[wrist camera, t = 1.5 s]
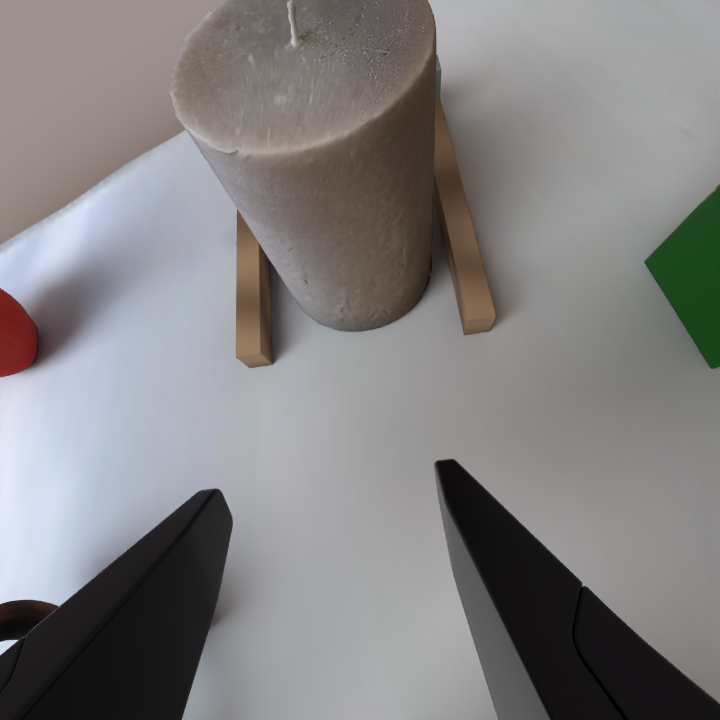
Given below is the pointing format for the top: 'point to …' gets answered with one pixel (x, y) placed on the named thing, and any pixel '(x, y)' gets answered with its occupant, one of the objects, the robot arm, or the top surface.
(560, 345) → the top surface
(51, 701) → the robot arm
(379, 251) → the pillar candle
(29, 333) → the apple
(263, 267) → the channel
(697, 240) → the milk carton
